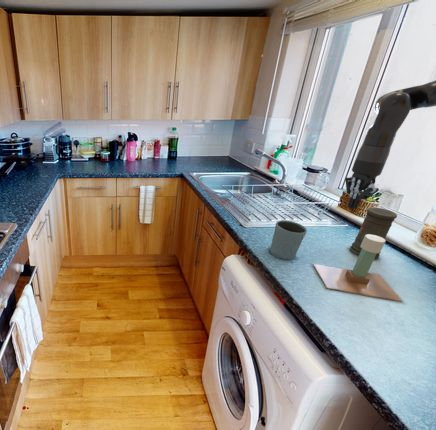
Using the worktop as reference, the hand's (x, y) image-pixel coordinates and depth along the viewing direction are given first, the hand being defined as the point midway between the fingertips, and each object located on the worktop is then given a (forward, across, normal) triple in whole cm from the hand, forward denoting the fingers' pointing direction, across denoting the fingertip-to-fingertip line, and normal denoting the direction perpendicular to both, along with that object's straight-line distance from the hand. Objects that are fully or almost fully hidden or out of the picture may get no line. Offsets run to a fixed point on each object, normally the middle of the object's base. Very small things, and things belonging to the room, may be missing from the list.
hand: (351, 208), depth 100 cm
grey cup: (+21, +2, +17) cm, 27 cm away
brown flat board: (+21, -14, +1) cm, 25 cm away
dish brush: (+20, -13, 0) cm, 24 cm away
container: (+21, +6, -16) cm, 27 cm away
